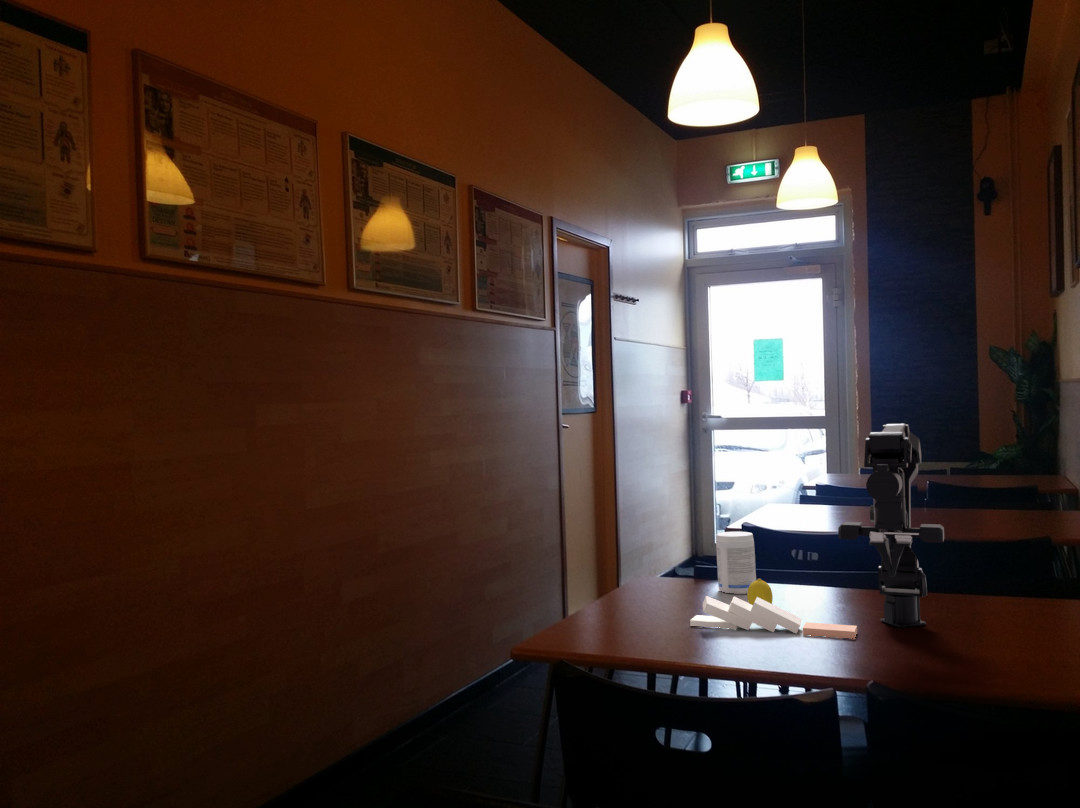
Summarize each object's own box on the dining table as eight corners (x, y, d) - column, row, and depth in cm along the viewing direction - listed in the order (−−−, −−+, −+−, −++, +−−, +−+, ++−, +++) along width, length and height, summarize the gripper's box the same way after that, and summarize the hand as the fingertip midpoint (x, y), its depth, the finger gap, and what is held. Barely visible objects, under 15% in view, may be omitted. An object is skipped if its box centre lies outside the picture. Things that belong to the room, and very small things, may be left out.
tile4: (750, 613, 184) (706, 595, 185) (752, 621, 179) (706, 603, 180) (746, 621, 184) (702, 603, 186) (748, 630, 180) (703, 611, 181)
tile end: (741, 618, 186) (696, 614, 190) (736, 623, 181) (690, 620, 185) (742, 627, 186) (696, 624, 190) (736, 633, 181) (690, 629, 185)
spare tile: (857, 625, 175) (806, 622, 179) (854, 631, 171) (802, 627, 175) (857, 635, 175) (806, 631, 179) (855, 641, 171) (803, 637, 175)
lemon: (774, 617, 191) (772, 581, 191) (748, 616, 192) (747, 581, 192) (772, 611, 196) (771, 576, 196) (747, 611, 197) (746, 576, 197)
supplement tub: (763, 590, 219) (761, 532, 219) (743, 596, 213) (741, 537, 213) (731, 585, 226) (729, 530, 226) (710, 592, 220) (708, 534, 220)
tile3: (778, 617, 182) (733, 596, 185) (777, 624, 178) (731, 602, 180) (774, 625, 183) (730, 604, 185) (773, 632, 178) (728, 610, 180)
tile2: (801, 618, 181) (757, 596, 184) (800, 625, 176) (754, 602, 179) (797, 627, 181) (753, 605, 184) (796, 633, 176) (750, 610, 179)
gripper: (944, 492, 170) (947, 571, 170) (845, 491, 178) (847, 566, 178) (941, 498, 160) (944, 582, 160) (836, 497, 169) (839, 576, 168)
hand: (892, 576), depth 167 cm, fingers closed
